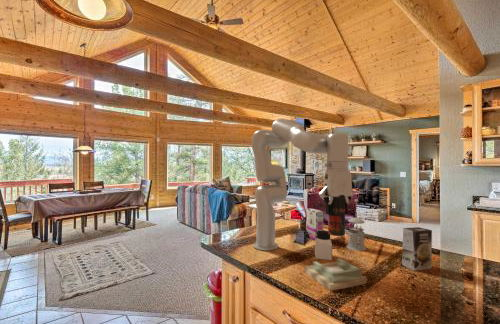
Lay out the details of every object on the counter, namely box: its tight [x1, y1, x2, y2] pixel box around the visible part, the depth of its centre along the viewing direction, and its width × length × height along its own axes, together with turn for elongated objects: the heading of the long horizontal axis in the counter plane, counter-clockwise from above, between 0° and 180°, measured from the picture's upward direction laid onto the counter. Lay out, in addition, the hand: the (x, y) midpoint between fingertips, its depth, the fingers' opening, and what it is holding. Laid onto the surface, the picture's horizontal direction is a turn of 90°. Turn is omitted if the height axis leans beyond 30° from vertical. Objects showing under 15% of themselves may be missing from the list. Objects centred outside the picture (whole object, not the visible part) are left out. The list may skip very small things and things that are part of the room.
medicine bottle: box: [314, 229, 333, 261], centre depth 117 cm, size 7×7×12 cm
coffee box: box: [401, 226, 433, 271], centre depth 107 cm, size 9×6×16 cm
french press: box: [345, 199, 367, 252], centre depth 130 cm, size 10×12×25 cm
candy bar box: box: [305, 208, 325, 241], centre depth 146 cm, size 11×5×16 cm, turn 17°
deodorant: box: [327, 195, 346, 237], centre depth 95 cm, size 6×6×15 cm
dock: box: [303, 257, 368, 292], centre depth 96 cm, size 16×16×5 cm
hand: (336, 213), depth 95 cm, fingers closed on deodorant, 6 cm apart
